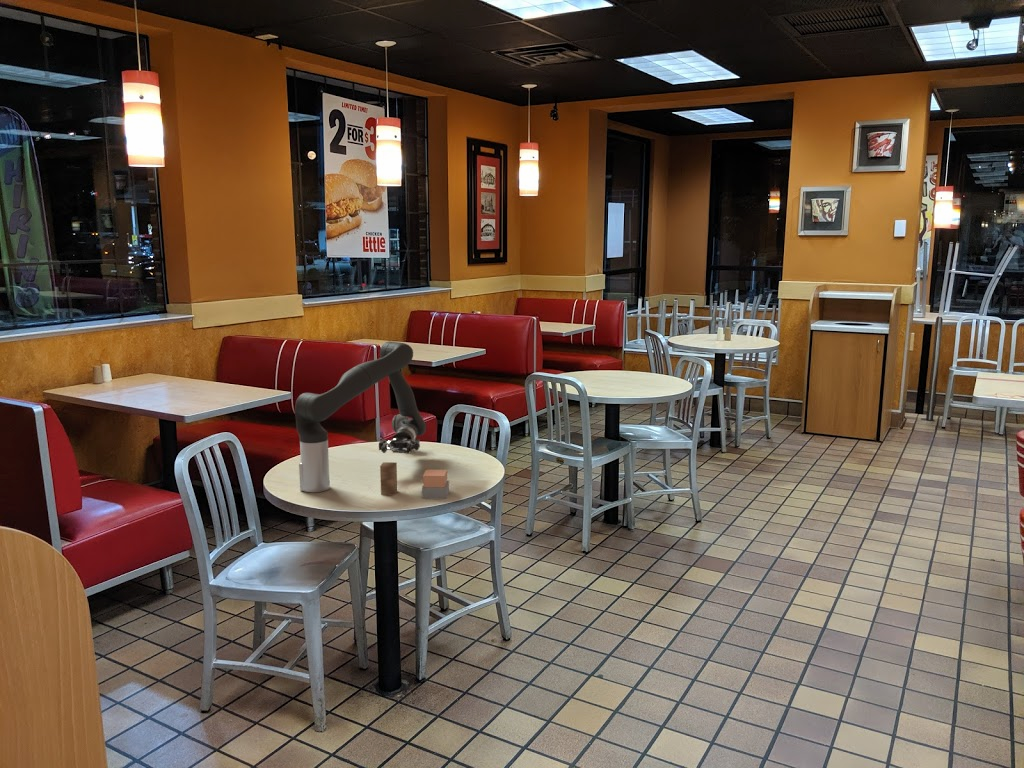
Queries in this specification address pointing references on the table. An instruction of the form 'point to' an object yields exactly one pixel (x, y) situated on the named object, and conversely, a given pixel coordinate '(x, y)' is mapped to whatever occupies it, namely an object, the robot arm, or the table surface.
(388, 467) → the walnut block
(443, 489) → the tower base
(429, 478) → the tower top
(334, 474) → the table surface
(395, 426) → the grey round-topped stand
